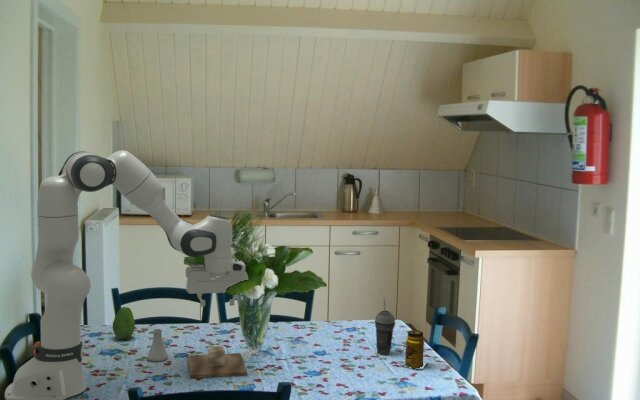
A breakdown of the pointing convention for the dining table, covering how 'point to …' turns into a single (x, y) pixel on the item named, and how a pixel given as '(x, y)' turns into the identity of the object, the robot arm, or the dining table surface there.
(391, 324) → the beverage cup
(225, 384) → the dining table surface
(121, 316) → the avocado
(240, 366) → the walnut board
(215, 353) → the birch cube
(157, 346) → the flask
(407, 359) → the condiment
